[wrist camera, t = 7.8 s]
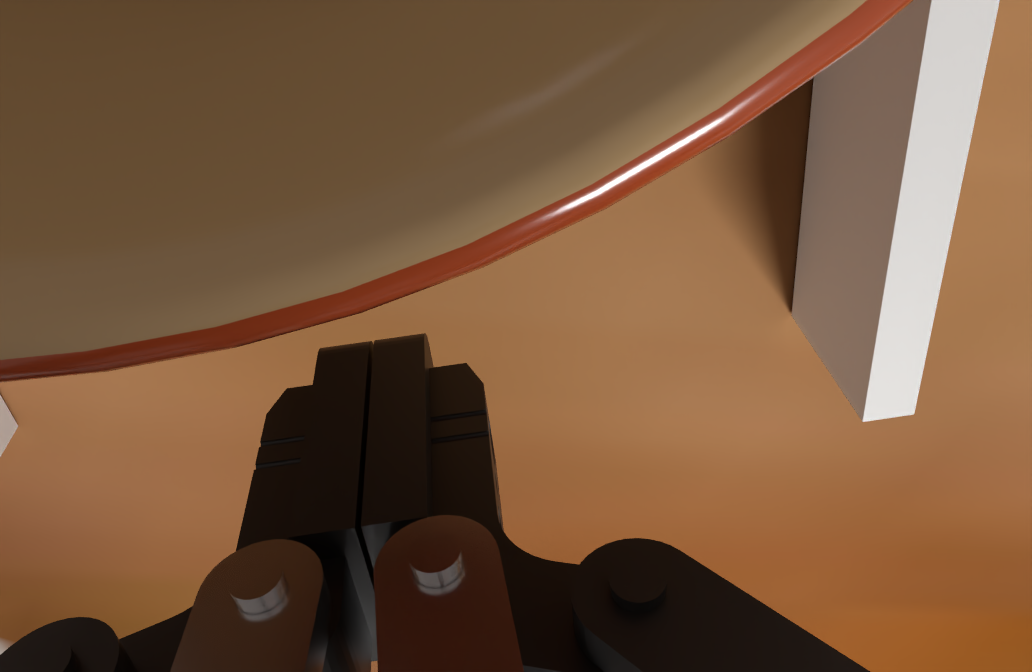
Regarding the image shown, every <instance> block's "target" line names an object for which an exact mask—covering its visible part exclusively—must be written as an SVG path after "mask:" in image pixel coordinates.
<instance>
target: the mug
mask: <svg viewBox="0 0 1032 672" xmlns="http://www.w3.org/2000/svg"><path fill="white" fill-rule="evenodd" d="M912 1H913V0H0V382H9V381H18V380H28V379H38V378H48V377H57V376H67V375H77V374H86V373H96V372H106V371H112V370H117V369H123V368H128V367H134V366H139V365H144V364H150V363H155V362H160V361H166V360H171V359H176V358H182V357H187V356H193V355H198V354H203V353H209V352H214V351H219V350H225V349H230V348H235V347H239V346H243V345H246V344H250V343H254V342H257V341H261V340H265V339H268V338H272V337H275V336H279V335H283V334H286V333H290V332H294V331H297V330H301V329H304V328H308V327H312V326H315V325H319V324H323V323H326V322H330V321H333V320H337V319H341V318H344V317H348V316H352V315H355V314H359V313H362V312H365V311H367V310H370V309H373V308H375V307H378V306H381V305H383V304H386V303H389V302H391V301H394V300H397V299H399V298H402V297H405V296H407V295H410V294H413V293H416V292H418V291H421V290H424V289H426V288H429V287H432V286H434V285H437V284H440V283H442V282H445V281H448V280H450V279H453V278H456V277H458V276H461V275H464V274H467V273H469V272H472V271H475V270H477V269H480V268H483V267H485V266H487V265H489V264H491V263H493V262H495V261H497V260H499V259H502V258H504V257H506V256H508V255H510V254H512V253H514V252H516V251H518V250H520V249H523V248H525V247H527V246H529V245H531V244H533V243H535V242H537V241H539V240H541V239H544V238H546V237H548V236H550V235H552V234H554V233H556V232H558V231H560V230H562V229H564V228H567V227H569V226H571V225H573V224H575V223H577V222H579V221H581V220H583V219H585V218H588V217H590V216H592V215H594V214H596V213H598V212H600V211H602V210H604V209H606V208H608V207H610V206H611V205H613V204H615V203H617V202H618V201H620V200H622V199H623V198H625V197H627V196H628V195H630V194H632V193H634V192H635V191H637V190H639V189H640V188H642V187H644V186H646V185H647V184H649V183H651V182H652V181H654V180H656V179H657V178H659V177H661V176H663V175H664V174H666V173H668V172H669V171H671V170H673V169H674V168H676V167H678V166H680V165H681V164H683V163H685V162H686V161H688V160H690V159H691V158H693V157H695V156H697V155H698V154H700V153H702V152H703V151H705V150H707V149H709V148H710V147H712V146H714V145H715V144H717V143H719V142H720V141H722V140H724V139H726V138H727V137H729V136H731V135H732V134H734V133H735V132H736V131H738V130H739V129H741V128H742V127H744V126H745V125H746V124H748V123H749V122H751V121H752V120H753V119H755V118H756V117H758V116H759V115H761V114H762V113H763V112H765V111H766V110H768V109H769V108H771V107H772V106H773V105H775V104H776V103H778V102H779V101H780V100H782V99H783V98H785V97H786V96H788V95H789V94H790V93H792V92H793V91H795V90H796V89H798V88H799V87H800V86H802V85H803V84H805V83H806V82H808V81H809V80H810V79H812V78H813V77H815V76H816V75H817V74H819V73H820V72H822V71H823V70H825V69H826V68H827V67H829V66H830V65H832V64H833V63H835V62H836V61H837V60H839V59H840V58H842V57H843V56H844V55H846V54H847V53H849V52H850V51H852V50H853V49H854V48H856V47H857V46H859V45H860V44H861V43H863V42H864V41H865V40H866V39H867V38H869V37H870V36H871V35H872V34H874V33H875V32H876V31H877V30H878V29H880V28H881V27H882V26H883V25H884V24H886V23H887V22H888V21H889V20H890V19H892V18H893V17H894V16H895V15H897V14H898V13H899V12H900V11H901V10H903V9H904V8H905V7H906V6H907V5H909V4H910V3H911V2H912Z"/></svg>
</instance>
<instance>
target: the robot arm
mask: <svg viewBox="0 0 1032 672" xmlns="http://www.w3.org/2000/svg"><path fill="white" fill-rule="evenodd" d="M260 442H261V447H259V450H258V455H257V459H256V464H255V465H256V470H254V473H253V477H252V481H251V486H250V490H249V495H248V499H247V504H246V508H245V513H244V517H243V522H242V526H241V531H240V535H239V539H238V544H237V548H236V552H234V553H232V554H231V555H229V556H228V557H226V558H225V559H223V560H222V561H221V562H220V563H219V564H218V565H217V566H215V567H214V568H213V569H212V571H211V572H210V573H209V574H208V575H207V577H206V578H205V580H204V581H203V583H202V584H201V586H200V588H199V591H198V593H197V596H196V599H195V601H194V604H193V606H192V607H191V608H189V609H187V610H186V611H184V612H182V613H180V614H178V615H176V616H174V617H172V618H169V619H167V620H165V621H162V622H160V623H157V624H155V625H153V626H150V627H148V628H145V629H143V630H141V631H138V632H136V633H133V634H131V635H128V636H126V637H124V638H121V639H118V637H117V636H116V634H115V632H114V631H113V629H112V628H111V627H110V626H108V625H107V624H106V623H104V622H102V621H100V620H97V619H93V618H87V617H76V618H68V619H63V620H59V621H56V622H53V623H50V624H47V625H45V626H43V627H41V628H38V629H36V630H34V631H32V632H31V633H29V634H28V635H26V636H24V637H23V638H21V639H20V640H18V641H17V642H16V643H14V644H13V645H12V646H10V647H9V648H8V649H7V650H6V651H4V652H3V653H2V654H1V655H0V672H371V661H378V672H870V671H868V670H867V669H865V668H864V667H862V666H860V665H859V664H857V663H856V662H854V661H853V660H851V659H849V658H848V657H846V656H845V655H843V654H842V653H840V652H838V651H837V650H835V649H834V648H832V647H831V646H829V645H828V644H826V643H824V642H823V641H821V640H820V639H818V638H817V637H815V636H813V635H812V634H810V633H809V632H807V631H806V630H804V629H802V628H801V627H799V626H798V625H796V624H795V623H793V622H791V621H790V620H788V619H787V618H785V617H784V616H782V615H780V614H779V613H777V612H776V611H774V610H773V609H771V608H769V607H768V606H766V605H765V604H763V603H762V602H760V601H758V600H757V599H755V598H754V597H752V596H751V595H749V594H747V593H746V592H744V591H743V590H741V589H740V588H738V587H736V586H735V585H733V584H732V583H730V582H729V581H727V580H725V579H724V578H722V577H721V576H719V575H718V574H716V573H714V572H713V571H711V570H710V569H708V568H707V567H705V566H703V565H702V564H700V563H699V562H697V561H696V560H694V559H693V558H691V557H689V556H688V555H686V554H685V553H683V552H682V551H680V550H678V549H676V548H674V547H672V546H671V545H668V544H665V543H663V542H660V541H655V540H651V539H641V538H633V539H623V540H618V541H614V542H611V543H608V544H605V545H603V546H601V547H600V548H598V549H596V550H595V551H593V552H592V553H590V554H589V555H588V556H587V557H586V558H585V559H584V560H583V561H582V562H581V564H580V565H578V564H570V563H563V562H555V561H550V560H545V559H542V558H539V557H536V556H533V555H531V554H529V553H527V552H525V551H523V550H521V549H520V548H519V547H517V546H516V545H515V544H514V543H513V542H512V541H510V540H509V539H508V537H507V536H506V534H505V533H504V530H503V521H502V513H501V503H500V495H499V486H498V477H497V468H496V460H495V454H494V448H493V441H492V435H491V429H490V422H489V416H488V410H487V403H486V397H485V391H484V384H483V382H482V381H481V380H480V379H479V378H478V376H477V375H476V374H475V373H474V372H473V371H472V369H471V368H470V367H469V366H468V365H467V363H463V364H456V365H449V366H441V367H433V362H432V357H431V352H430V347H429V342H428V338H427V335H426V333H424V334H417V335H410V336H403V337H396V338H389V339H382V340H375V341H374V344H373V342H372V341H369V342H362V343H355V344H347V345H340V346H333V347H326V348H320V349H319V351H318V356H317V362H316V368H315V374H314V380H313V385H308V386H301V387H294V388H287V389H286V390H285V391H284V393H283V394H282V395H281V397H280V398H279V399H278V400H277V402H276V403H275V404H274V406H273V407H272V408H271V409H270V411H269V412H268V413H267V415H266V419H265V423H264V428H263V432H262V437H261V441H260Z"/></svg>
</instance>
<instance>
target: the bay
mask: <svg viewBox="0 0 1032 672" xmlns="http://www.w3.org/2000/svg"><path fill="white" fill-rule="evenodd" d="M999 1H1000V0H913V1H912V2H911V3H910V4H909V5H907V6H906V7H905V8H904V9H903V10H901V11H900V12H899V13H898V14H897V15H895V16H894V17H893V18H892V19H890V20H889V21H888V22H887V23H886V24H884V25H883V26H882V27H881V28H880V29H878V30H877V31H876V32H875V33H874V34H872V35H871V36H870V37H869V38H867V39H866V40H865V41H864V42H863V43H861V44H860V45H859V46H857V47H856V48H854V49H853V50H852V51H850V52H849V53H847V54H846V55H844V56H843V57H842V58H840V59H839V60H837V61H836V62H835V63H833V64H832V65H830V66H829V67H827V68H826V69H825V70H823V71H822V72H820V73H819V74H817V75H816V76H815V77H814V81H813V92H812V102H811V113H810V124H809V135H808V145H807V156H806V167H805V177H804V188H803V199H802V210H801V220H800V231H799V242H798V252H797V263H796V274H795V285H794V295H793V306H792V317H793V319H794V320H795V322H796V323H797V325H798V326H799V328H800V329H801V331H802V332H803V334H804V335H805V337H806V338H807V340H808V341H809V343H810V344H811V346H812V347H813V349H814V350H815V352H816V353H817V355H818V356H819V358H820V359H821V361H822V362H823V363H824V365H825V366H826V368H827V369H828V371H829V372H830V374H831V375H832V377H833V378H834V380H835V381H836V383H837V384H838V386H839V387H840V389H841V390H842V392H843V393H844V395H845V396H846V398H847V399H848V401H849V402H850V404H851V405H852V407H853V408H854V410H855V411H856V413H857V414H858V416H859V417H860V419H861V420H862V422H865V421H872V420H879V419H886V418H893V417H899V416H906V415H913V414H914V412H915V407H916V402H917V398H918V393H919V388H920V383H921V378H922V373H923V369H924V364H925V359H926V354H927V349H928V344H929V340H930V335H931V330H932V325H933V320H934V315H935V310H936V306H937V301H938V296H939V291H940V286H941V281H942V277H943V272H944V267H945V262H946V257H947V252H948V248H949V243H950V238H951V233H952V228H953V223H954V219H955V214H956V209H957V204H958V199H959V194H960V190H961V185H962V180H963V175H964V170H965V165H966V161H967V156H968V151H969V146H970V141H971V136H972V132H973V127H974V122H975V117H976V112H977V107H978V103H979V98H980V93H981V88H982V83H983V78H984V74H985V69H986V64H987V59H988V54H989V49H990V45H991V40H992V35H993V30H994V25H995V20H996V15H997V11H998V6H999ZM17 428H18V425H17V423H16V421H15V420H14V418H13V416H12V414H11V413H10V411H9V409H8V407H7V406H6V404H5V402H4V400H3V399H2V397H1V395H0V456H1V455H2V453H3V451H4V450H5V448H6V446H7V445H8V443H9V441H10V439H11V438H12V436H13V434H14V433H15V431H16V429H17Z"/></svg>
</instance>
